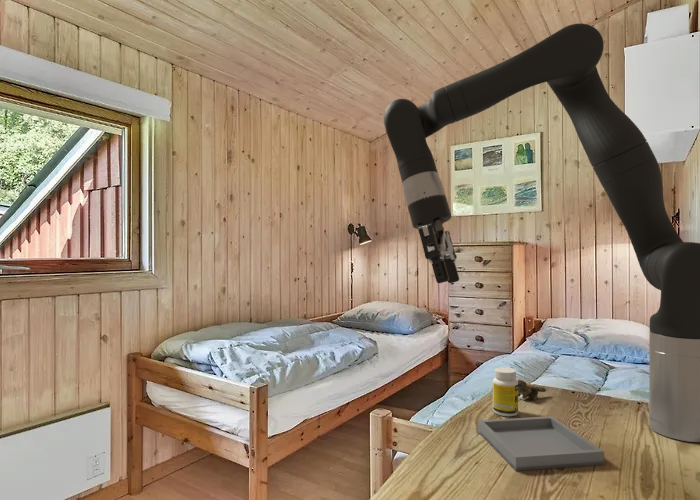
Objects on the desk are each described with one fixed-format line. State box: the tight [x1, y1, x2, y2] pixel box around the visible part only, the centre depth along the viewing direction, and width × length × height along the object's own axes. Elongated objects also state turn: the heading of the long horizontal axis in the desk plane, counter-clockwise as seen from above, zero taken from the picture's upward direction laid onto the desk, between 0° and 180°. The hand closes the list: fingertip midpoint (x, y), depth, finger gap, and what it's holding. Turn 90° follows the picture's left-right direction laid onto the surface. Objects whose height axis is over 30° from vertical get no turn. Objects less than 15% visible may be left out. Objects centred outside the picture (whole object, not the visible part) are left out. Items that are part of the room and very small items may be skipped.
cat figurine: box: [517, 379, 547, 401], centre depth 98 cm, size 3×8×4 cm, turn 112°
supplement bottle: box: [492, 367, 519, 417], centre depth 90 cm, size 5×5×8 cm
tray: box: [477, 415, 605, 472], centre depth 75 cm, size 14×14×2 cm
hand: (449, 282), depth 85 cm, fingers open, 8 cm apart
